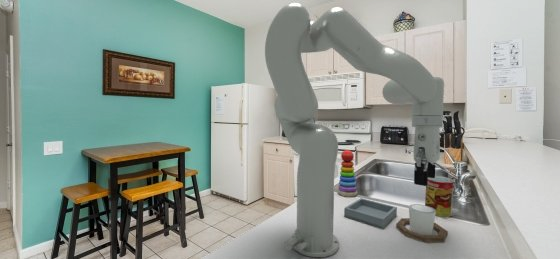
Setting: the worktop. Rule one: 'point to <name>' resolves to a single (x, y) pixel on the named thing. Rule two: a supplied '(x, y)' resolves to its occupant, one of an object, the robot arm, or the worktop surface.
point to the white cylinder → (421, 219)
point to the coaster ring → (420, 237)
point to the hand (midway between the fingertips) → (424, 180)
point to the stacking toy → (347, 175)
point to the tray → (371, 213)
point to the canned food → (440, 195)
